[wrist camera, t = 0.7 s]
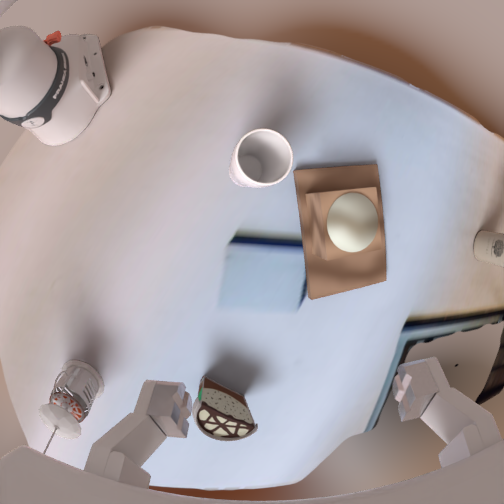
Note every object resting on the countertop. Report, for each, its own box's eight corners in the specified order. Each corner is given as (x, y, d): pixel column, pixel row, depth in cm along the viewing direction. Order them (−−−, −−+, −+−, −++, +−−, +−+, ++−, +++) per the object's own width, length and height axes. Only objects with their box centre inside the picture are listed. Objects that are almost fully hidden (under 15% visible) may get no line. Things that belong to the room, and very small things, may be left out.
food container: (180, 392, 50) (178, 426, 40) (197, 371, 50) (197, 404, 40) (232, 417, 53) (238, 450, 43) (250, 398, 53) (259, 431, 43)
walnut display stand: (293, 171, 47) (310, 165, 39) (372, 165, 49) (397, 160, 42) (308, 297, 51) (325, 312, 44) (382, 278, 53) (405, 289, 46)
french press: (64, 393, 46) (20, 474, 22) (57, 347, 44) (-4, 424, 20) (105, 404, 48) (74, 495, 24) (102, 358, 46) (55, 450, 22)
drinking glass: (230, 145, 45) (244, 119, 30) (270, 157, 46) (300, 138, 31) (218, 185, 45) (227, 176, 31) (259, 196, 47) (285, 193, 32)
